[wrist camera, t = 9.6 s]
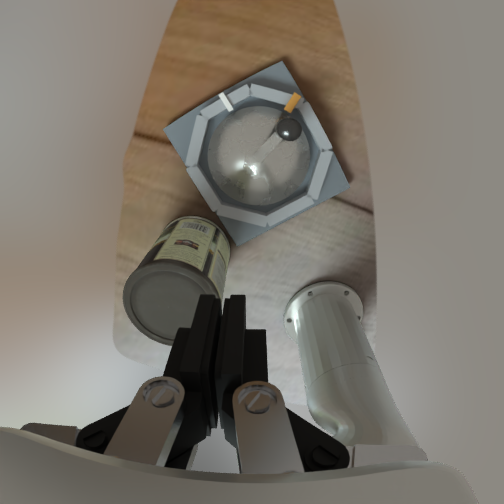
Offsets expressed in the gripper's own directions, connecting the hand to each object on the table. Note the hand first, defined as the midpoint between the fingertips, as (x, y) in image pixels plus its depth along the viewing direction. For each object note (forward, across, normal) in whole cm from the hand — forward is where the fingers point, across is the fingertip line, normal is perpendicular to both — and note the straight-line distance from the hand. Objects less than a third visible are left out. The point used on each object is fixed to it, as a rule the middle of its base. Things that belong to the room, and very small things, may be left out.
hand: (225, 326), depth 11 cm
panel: (+29, -2, -3) cm, 29 cm away
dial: (+28, -2, -3) cm, 28 cm away
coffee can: (+29, +7, +10) cm, 32 cm away
